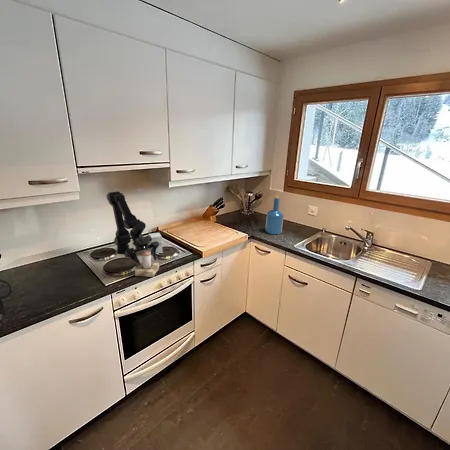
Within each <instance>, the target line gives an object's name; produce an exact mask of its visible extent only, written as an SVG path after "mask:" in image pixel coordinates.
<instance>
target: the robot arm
mask: <svg viewBox="0 0 450 450" xmlns="http://www.w3.org/2000/svg"><path fill="white" fill-rule="evenodd" d="M106 200H107V201H108V203H109V205H110V206H111V207H112V210H113V216H114V220H115V225H116V231H115V237H114V239H113V242H114V244H115V245H116V250H117V251H116V254H119V255H120V254H121V255H123V254H124V257H125V258H128V259H131V260H132V261H133V262H134V263H136V264H137V265H138V266H140V265H141V262H140V260H139V258H138V255H137V253H138V252H142V251H146V250H149V249H150V250H151V254H152V255H151V256H152V258H153V260H154V261H155V262H156V260H157V255H156V249H157V248H158V246H159V243H158V242H157V241H156V242H152V243H151V244H150V245H149V243H150V242H149V241H152V238H151V236H150V235H149V236H148V235H147V236H146V237H145V236H143V235H142V234H143V233H144V231H145V230H146V227H147V224H146V223H145V222H144V221H142V220H140V219H137V216H136V215H134V214H133V213H132V212H131V209H130V207H129V205H128V203H127V201H126V198H125V194H124V193H122V192H120V191H110V192H108V193H107V194H106ZM131 239H132V245H134V247H135V248H134V247H130V244H129V243H131Z"/></svg>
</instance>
